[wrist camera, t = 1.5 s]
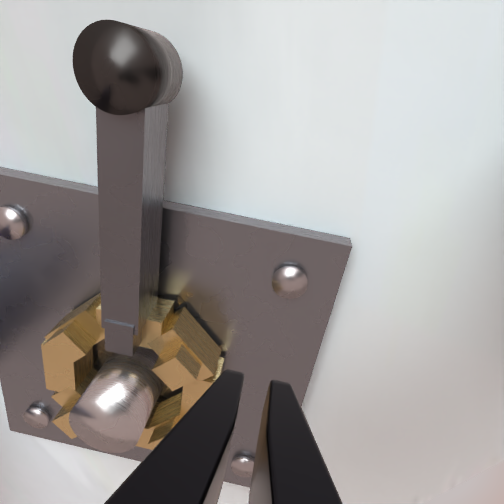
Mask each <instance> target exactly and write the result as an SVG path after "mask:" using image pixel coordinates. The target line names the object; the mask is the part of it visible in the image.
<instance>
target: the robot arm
mask: <svg viewBox="0 0 504 504" xmlns="http://www.w3.org/2000/svg"><path fill="white" fill-rule="evenodd" d="M244 379H245V375H244V373H242V372H238V371H233V370H229V369H227V370H225V371H224V372H223V373H222V374H221V375H220V376H219V377H218V378H217V379H216V380H215V381H214V383H213V384H212V385H211V386H210V387H209V388H208V389H207V390H206V391H205V393H204V394H203V395H202V396H201V397H200V398H199V399H198V400H197V401H196V403H195V404H194V405H193V406H192V407H191V408H190V409H189V410H188V411H187V413H186V414H185V415H184V416H183V417H182V418H181V419H180V420H179V421H178V422H177V424H176V425H175V426H174V427H173V428H172V429H171V430H170V431H169V432H168V434H167V435H166V436H165V437H164V438H163V439H162V440H161V441H160V442H159V444H158V445H157V446H156V447H155V448H154V449H153V450H152V451H151V452H150V453H149V455H148V456H147V457H146V458H145V459H144V460H143V461H142V462H141V463H140V465H139V466H138V467H137V468H136V469H135V470H134V471H133V472H132V473H131V475H130V476H129V477H128V478H127V479H126V480H125V481H124V482H123V483H122V484H121V486H120V487H119V488H118V489H117V490H116V491H115V492H114V493H113V494H112V496H111V497H110V498H109V499H108V500H107V501H106V502H105V503H104V504H217V502H218V499H219V495H220V492H221V488H222V484H223V480H224V476H225V471H226V466H227V461H228V457H229V452H230V447H231V442H232V437H233V433H234V428H235V423H236V418H237V413H238V408H239V404H240V399H241V394H242V389H243V384H244ZM249 504H342V501H341V499H340V497H339V494H338V492H337V490H336V487H335V485H334V483H333V480H332V478H331V476H330V473H329V471H328V469H327V467H326V464H325V462H324V460H323V457H322V455H321V453H320V450H319V448H318V446H317V443H316V441H315V439H314V436H313V434H312V432H311V429H310V427H309V425H308V422H307V420H306V418H305V416H304V413H303V411H302V409H301V406H300V404H299V402H298V399H297V397H296V395H295V392H294V390H293V388H292V386H291V384H289V383H287V382H283V381H278V380H271V381H270V383H269V387H268V391H267V395H266V399H265V403H264V407H263V411H262V417H261V423H260V429H259V435H258V441H257V448H256V454H255V460H254V466H253V473H252V479H251V486H250V494H249Z"/></svg>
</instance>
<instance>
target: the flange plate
mask: <svg viewBox="0 0 504 504" xmlns="http://www.w3.org/2000/svg"><path fill="white" fill-rule="evenodd" d="M351 248H352V245H351V241H350V238H347V237H342V236H337V235H332V234H327V233H322V232H317V231H312V230H307V229H302V228H297V227H293V226H288V225H283V224H278V223H273V222H268V221H263V220H258V219H253V218H248V217H243V216H238V215H234V214H229V213H224V212H219V211H214V210H209V209H204V208H199V207H194V206H189V205H184V204H180V203H175V202H170V201H165V200H163V211H162V228H161V245H160V263H159V280H158V298H163V299H168V300H172V301H175V303H174V312H176V311H178V310H180V309H181V308H183V307H185V308H186V309H187V310H188V311H189V313H190V314H191V315H192V316H193V317H194V318H195V320H196V321H197V322H198V323H199V324H200V325H201V326H202V328H203V329H204V330H205V331H206V332H207V333H208V335H209V336H210V337H211V338H212V339H213V340H214V341H215V343H216V344H217V345H218V346H219V347H220V348H221V349H222V351H221V354H220V357H222V358H224V364H223V370H222V373H223V372H224V371H225V370H227V369H229V370H233V371H238V372H242V373H244V375H245V379H244V384H243V389H242V394H241V399H240V404H239V408H238V413H237V418H236V423H235V428H234V433H233V437H232V442H231V447H230V452H229V457H228V461H227V466H226V471H225V476H224V480H223V481H225V482H229V483H233V484H237V485H242V486H246V487H250V486H251V479H252V473H253V466H254V460H255V454H256V448H257V441H258V435H259V429H260V423H261V417H262V411H263V407H264V403H265V399H266V395H267V391H268V387H269V383H270V381H271V380H278V381H283V382H287V383H289V384H291V386H292V388H293V390H294V392H295V395H296V397H297V399H298V402H299V404H300V406H301V405H302V402H303V399H304V396H305V393H306V389H307V386H308V383H309V380H310V377H311V374H312V370H313V367H314V364H315V361H316V358H317V355H318V352H319V348H320V345H321V342H322V339H323V336H324V333H325V330H326V326H327V323H328V320H329V317H330V314H331V311H332V308H333V304H334V301H335V298H336V295H337V292H338V289H339V286H340V282H341V279H342V276H343V273H344V270H345V267H346V264H347V260H348V257H349V254H350V251H351ZM100 292H101V286H100V245H99V205H98V187H96V186H91V185H86V184H81V183H76V182H71V181H66V180H62V179H57V178H52V177H47V176H42V175H37V174H32V173H27V172H22V171H17V170H12V169H8V168H3V167H0V381H1V386H2V391H3V396H4V401H5V406H6V412H7V417H8V422H9V427H10V430H11V431H15V432H19V433H24V434H28V435H32V436H36V437H40V438H45V439H49V440H53V441H57V442H61V443H66V444H70V445H74V446H78V447H82V448H87V449H91V450H95V451H99V452H103V453H107V454H112V455H116V456H120V457H124V458H128V459H133V460H137V461H141V462H142V461H143V460H144V459H145V458H146V457H147V456H148V455H149V453H150V452H151V451H152V450H150V449H146V448H142V447H138V446H136V444H137V443H138V441H139V438H140V436H141V434H142V432H143V430H144V428H145V425H146V423H147V421H148V419H149V417H150V415H151V412H152V410H153V408H154V406H155V404H156V402H162V401H164V400H166V399H168V398H170V397H172V396H174V395H177V394H179V393H181V392H182V391H183V386H182V387H180V388H178V389H176V390H174V391H172V390H171V389H170V388H169V387H168V386H167V385H166V384H165V383H164V382H163V381H162V380H161V379H160V378H159V377H158V376H157V375H156V374H155V373H154V372H153V371H152V368H153V367H154V365H155V363H156V361H157V359H158V357H159V356H158V355H157V354H156V353H155V352H154V350H153V349H150V348H145V347H141V346H139V347H138V349H137V350H136V352H135V353H134V355H133V357H131V356H127V355H122V354H118V353H114V352H109V351H105V338H104V339H103V340H101V341H99V342H98V343H96V344H94V345H93V366H94V367H95V368H96V369H97V370H98V373H97V374H96V375H95V377H94V378H93V380H92V381H91V383H90V384H89V385H88V387H87V388H86V390H85V391H84V393H83V394H82V395H81V397H80V398H79V400H78V401H77V403H76V404H75V405H74V407H73V408H72V410H71V411H70V414H69V424H70V426H71V428H72V430H73V432H74V433H75V434H76V436H77V437H75V438H73V439H71V438H70V437H69V436H67V435H66V434H65V433H64V432H63V431H62V430H61V429H59V428H58V427H57V426H56V425H55V424H54V423H53V422H52V420H53V419H54V418H55V416H56V415H57V414H58V412H59V411H60V410H61V408H62V406H61V405H59V404H58V403H57V402H56V401H55V400H54V399H53V398H52V397H51V396H52V395H53V394H54V392H55V391H52V390H48V389H46V382H45V374H44V365H43V357H42V349H41V344H42V343H43V342H44V341H45V340H46V338H45V336H46V335H47V334H48V333H49V332H50V331H51V330H52V329H53V328H54V327H55V326H56V325H57V324H58V323H59V322H60V321H61V320H62V319H63V318H64V317H65V316H66V315H67V314H69V313H70V312H72V311H73V310H75V309H76V308H78V307H79V306H81V305H82V304H84V303H85V302H87V301H88V300H90V299H91V298H93V297H94V296H96V295H97V294H99V293H100Z"/></svg>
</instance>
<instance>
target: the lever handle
mask: <svg viewBox="0 0 504 504" xmlns="http://www.w3.org/2000/svg"><path fill="white" fill-rule="evenodd" d="M73 69H74V74H75V77H76V80H77V83H78V85H79V87H80V89H81V90H82V92H83V93H84V95H85V96H86V97H87V99H88V100H89V101H90V102H91V103H92V104H93V105H95V106H96V124H97V164H98V205H99V245H100V286H101V292H100V293H99V294H97V295H96V296H94V297H93V298H91V299H90V300H88V301H87V302H85V303H84V304H82V305H81V306H79V307H78V308H76V309H75V310H73V311H72V312H70V313H69V314H67V315H66V316H65V317H64V318H63V319H62V320H61V321H60V322H59V323H58V324H57V325H56V326H55V327H54V328H53V329H52V330H51V331H50V332H49V333H48V334H47V335H46V336H45V338H46V340H45V341H44V342H43V343H42V344H41V349H42V357H43V365H44V374H45V382H46V389H48V390H52V391H55V392H54V394H53V395H52V396H51V397H52V398H53V399H54V400H55V401H56V402H57V403H58V404H59V405H61V406H62V408H61V410H60V411H59V412H58V414H57V415H56V416H55V418H54V419H53V420H52V422H53V423H54V424H55V425H56V426H57V427H58V428H59V429H61V430H62V431H63V432H64V433H65V434H66V435H67V436H69V437H70V438H71V439H73V438H75V437H77V436H76V434H75V433H74V432H73V430H72V428H71V426H70V424H69V414H70V411H71V410H72V408H73V407H74V405H75V404H76V403H77V401H78V400H79V398H80V397H81V395H82V394H83V393H84V391H85V390H86V388H87V387H88V385H89V384H90V383H91V381H92V380H93V378H94V377H95V375H96V374H97V373H98V370H97V369H96V368H95V367H94V366H93V345H94V344H96V343H98V342H99V341H101V340H103V339H104V338H105V351H109V352H114V353H118V354H122V355H127V356H131V357H133V355H134V353H135V352H136V350H137V349H138V347H139V346H141V347H145V348H150V349H153V350H154V352H155V353H156V354H157V355H158V356H159V357H158V359H157V361H156V363H155V365H154V367H153V368H152V371H153V372H154V373H155V374H156V375H157V376H158V377H159V378H160V379H161V380H162V381H163V382H164V383H165V384H166V385H167V386H168V387H169V388H170V389H171V390H172V391H174V390H176V389H178V388H180V387H182V386H183V391H182V392H181V393H179V394H177V395H174V396H172V397H170V398H168V399H166V400H164V401H162V402H156V404H155V406H154V408H153V410H152V412H151V415H150V417H149V419H148V421H147V423H146V425H145V428H144V430H143V432H142V434H141V436H140V438H139V441H138V443H137V444H136V446H138V447H142V448H146V449H150V450H153V449H154V448H155V447H156V446H157V445H158V444H159V442H160V441H161V440H162V439H163V438H164V437H165V436H166V435H167V434H168V432H169V431H170V430H171V429H172V428H173V427H174V426H175V425H176V424H177V422H178V421H179V420H180V419H181V418H182V417H183V416H184V415H185V414H186V413H187V411H188V410H189V409H190V408H191V407H192V406H193V405H194V404H195V403H196V401H197V400H198V399H199V398H200V397H201V396H202V395H203V394H204V393H205V391H206V390H207V389H208V388H209V387H210V386H211V385H212V384H213V383H214V381H215V380H216V379H217V378H218V377H219V376H220V375H221V374H222V370H223V364H224V358H222V357H220V354H221V351H222V349H221V348H220V347H219V346H218V345H217V344H216V343H215V341H214V340H213V339H212V338H211V337H210V336H209V335H208V333H207V332H206V331H205V330H204V329H203V328H202V326H201V325H200V324H199V323H198V322H197V321H196V320H195V318H194V317H193V316H192V315H191V314H190V313H189V311H188V310H187V309H186V308H185V307H183V308H181V309H180V310H178V311H176V312H174V303H175V301H172V300H168V299H163V298H158V280H159V263H160V245H161V228H162V211H163V194H164V176H165V159H166V142H167V125H168V107H169V103H170V102H171V101H172V100H173V99H174V98H175V97H176V95H177V94H178V92H179V90H180V87H181V84H182V78H183V71H182V64H181V60H180V57H179V55H178V53H177V51H176V49H175V48H174V46H173V45H172V44H171V43H170V42H169V41H168V40H167V39H166V38H165V37H164V36H162V35H160V34H159V33H156V32H153V31H150V30H146V29H143V28H139V27H136V26H132V25H129V24H125V23H121V22H118V21H114V20H100V21H97V22H94V23H92V24H90V25H89V26H87V27H86V28H85V29H84V30H83V31H82V32H81V34H80V35H79V37H78V38H77V41H76V43H75V46H74V50H73Z"/></svg>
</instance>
